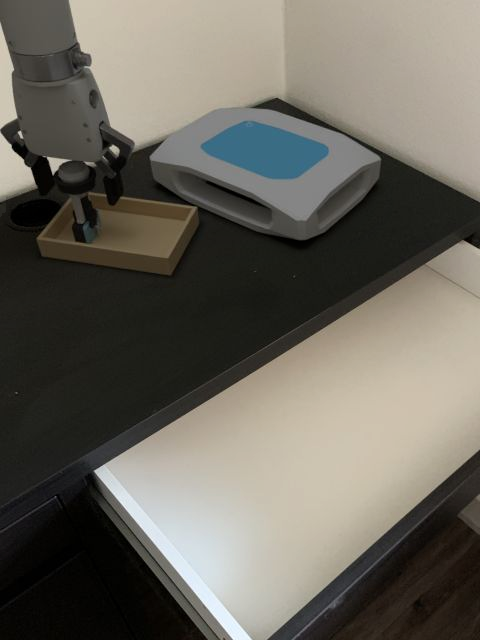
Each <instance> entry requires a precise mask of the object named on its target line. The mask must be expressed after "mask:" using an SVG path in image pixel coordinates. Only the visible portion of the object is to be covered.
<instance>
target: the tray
mask: <svg viewBox="0 0 480 640" xmlns="http://www.w3.org/2000/svg"><path fill="white" fill-rule="evenodd" d="M89 196H90V200H91V202H92V206H93V208H97V209H99V211H98V212H99V214H100V222H101V230H102V231H101V234H100V235H98V232H97V234H96V236H95V237H94V239H93V241H92V243H91V244H90V243H79V242H76V241H75V238H74V234H73V231H72V225H73V223H74V221H75V220H74V217H73V213H72V212H73V210H74V208H73V204H72V200H71V197H70V196H69V198H68V199H67V201H66V202H65V203H64V204H63V206H61V208H60V209H59V211H57V213H56V214H55V215H54V216H53V218H52V219H51V220H50V222H48V223H47V225H46V226H45V228H44V229H43V230H42V231H41V232H40V234H39V235H38V236H37V237H36V239H35V240H36V243H37V246H38V249H39V252H40V254H41V257H44V258H51V259H58V260H64V261H71V262H77V263H83V264H90V265H97V266H103V267H104V266H105V267H109V268H118V269H124V270H130V271H136V272H144V273H151V274H157V275H165V276H170V277H171V276H172V274H173V273H174V271H175V269H176V267H177V265H178V264H179V262H180V260H181V258H182V256H183V255H184V252H185V251H186V249H187V247H188V245H189V244H190V242H191V240H192V238H193V236H194V234H195V233H196V232H197V231H196V230H197V229H198V227H199V226H200V218H199V217H200V216H199V209H198V206H196V205H189V204H188V205H187V204H179V203H173V202H164V201H158V200H149V199H143V198H135V197H130V196H129V197H127V196H122V197H120V199H119V200H118V202H117V203H116V204H115V206H110V205H109V204H108V201H107V196H106V193H98V192H91V191H89ZM99 232H100V229H99Z"/></svg>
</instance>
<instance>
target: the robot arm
mask: <svg viewBox="0 0 480 640" xmlns="http://www.w3.org/2000/svg"><path fill="white" fill-rule="evenodd" d="M0 27H1V30H2V33H3V34H2V35H3V36H4V40H5V43H6V46H7V51H8V54H9V57H10V60H11V64H12V67H13V70H12V72H11V87H12V95H13V96H12V97H13V102H14V107H15V111H16V112H15V113H16V118H15V119H13V120H11V121H9V122H6V123H5V124H4V125H3V126H2V127H1V128H0V134H1V135H2V136H3V138H4V139H5V141H6V142H7V143H8V144H10V145H11V147H10V148H11V150H12V151H13V152H14V153H15V154H16V155H17V156H19V157H20V158H21V160H23V163H24V165H25V166H26V167H27V168H30V171H31V173H32V177H33V181H34V184H35V186H36V188H37V190H38V194H39V196H40V197H46V196H47V195H48V194H49V193H50V192H51V191H52V189H53V188H54V187H55V185H56V183H55V182H54V179H53V175H54V173H53V170H52V167H51V163H50V160H49V159H48V158H52V159H58V160H59V159H60V160H67V161H71V160H74V161H82V162H85V163H94V164H95V165H96V166H97V168H98V169H99V170H100V171H101V172H103V174H104V176H103V178H102V182H103V188H104V192H105V194H106V196H107V201H108V204H109V205H110V206H115V204H116V203H117V202H118V200H119V199H120V197H123V195H124V193H125V190H124V188H125V187H124V184H123V179H122V174H121V171H122V169H123V168H125V166H126V165H127V164H128V163H129V161H130V160H131V156H132V154H133V151H134V149H135V146H136V142H135V141H134V140H133V139H131V138H130V137H128V136H126V135H125V134H123V133H122V132H120V131H118V130H117V129H114V128H113V127H112V126H111V123H110V119H109V115H108V111H107V107H106V106H105V101H104V99H103V96H102V93H101V90H100V88H99V85H98V83H97V81H96V80H97V79H95V76H94V74H93V72H92V70H91V68H90V67H91V66H92V62H93V59H92V55H91V53H87V52H84V51H82V49H81V43H80V42H79V41H78V37H77V32H76V28H75V23H74V17H73V14H72V9H71V4H70V0H0ZM19 132H20V133H21V135H20V134H19ZM113 146H114V147H116V148H117V149H118V150H119V153H118V155H117V154H115V152H114V151H113V150H112V149H111V147H113Z"/></svg>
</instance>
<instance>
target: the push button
mask: <svg viewBox="0 0 480 640" xmlns="http://www.w3.org/2000/svg"><path fill="white" fill-rule="evenodd" d="M96 178H97V171H96V169H95V168H94V167H93V166H92V165H89V164H87V162H82V161H74V160H67V161H64V162H62V163H61V164H60V165H58V169H56V170H55V171H54V173H53V179H54V182H55V185H56V186H57V190H58V191H60V192H61V194H65V195H68V196H69V198H70V197H71V200H72V204H73V208H74V210H73V212H72V213H73V217H74V220H75V221H74V223H73V225H72V231H73V234H74V238H75V241H76V242H79V243H90V244H91V243H92V241H93V239H94V237H95V236H96V234H97V232H98V235H100V234H101V231H102V230H101V222H100V214H99V212H98V211H99V209H97V208H93V206H92V202H91V200H90V196H89V192H91V191H92V190H93V189H94V188H95V187H96V182H97V181H96ZM99 229H100V232H99Z"/></svg>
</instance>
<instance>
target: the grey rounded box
mask: <svg viewBox="0 0 480 640" xmlns="http://www.w3.org/2000/svg"><path fill="white" fill-rule="evenodd" d="M149 161H150V168H151V173H152V174H151V175H152V177H153V180H154V181H156V182H157V183H159V184H161V185H162V186H163V187H165V188H167V190H168V191H170V192H172V193H174V194H175V195H176V196H178V197H180V198H181V199H183V200H184V201H185V202H188V203H190V204H192V205H194V206H196V207H199V208H201V209H204V210H206V211H208V212H211V213H213V214H216V215H217V216H219V217H221V218H225V219H227V220H229V221H232V222H234V223H236V224H239V225H241V226H243V227H245V228H248V229H249V230H252V231H254V232H257V233H261V234H266V235H271V236H277V237H281V238H287V239H291V240H297V241H306V240H309V239H311V238H314V237H317V236H319V235H321V234H323V233H326V232H327V231H328V230H329V229H330V228H331V227H333V226H334V225H335V224H336V223H337V222H339V221H340V220H341V219H342V218H343V217H344V216H345V215H346V214H348V213H349V212H350V211H351V210H352V209H353V208H355V207H356V206H357V205H358V204H359V203H361V202H362V201H363V200H364V198H365V197H366V196H367V194H368V193H369V192H370V191H371V189H372V188H373V186H374V185H375V184H376V183H377V181H378V180H379V179H380V173H381V164H382V159H381V157H380V156H379V155H378V154H376V153H375V152H373V151H372V150H370V149H369V148H367V147H365V146H363V145H361V144H360V143H359V142H357V141H356V140H353V139H352V138H350V137H348V136H347V135H345V134H343V133H340V132H338V131H335V130H331V129H329V128H325V127H323V126H321V125H319V124H318V125H317V124H314V123H312V122H308V121H306V120H303V119H300V118H297V117H294V116H292V115H288V114H285V113H282V112H280V111H277V110H273V109H267V108H255V107H252V108H251V107H239V106H237V107H236V106H235V107H234V106H233V107H222V108H221V107H220V108H216V109H213V110H211V111H209V112H208V113H206V114H204V115H203V116H201V117H199V118H197V119H195V120H193V121H192V122H190V123H188V124H187V125H184V126H183V127H181V128H180V129H177V130H176V131H175V132H173V133H171V134H170V135H168V137H166V139H165V140H163V142H162V143H161V144H160V145H159V146H158V147H157V148H156V149H155V150H154V151H153V152H152V153H151V154H150V155H149ZM207 182H210V183H213V184H216V185H218V186H220V187H223V188H225V189H228V190H230V191H233V192H235V193H237V194H240V195H242V196H245V197H247V198H250V199H252V200H254V201H255V202H257V203H259V204H261V205H259V204H256V203H253V202H250V201H248V200H245V199H243V198H241V197H238V196H235V195H233V194H231V193H228V192H226V191H224V190H222V189H220V188H218V187H215V186H213V185H211V184H208V183H207Z"/></svg>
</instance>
